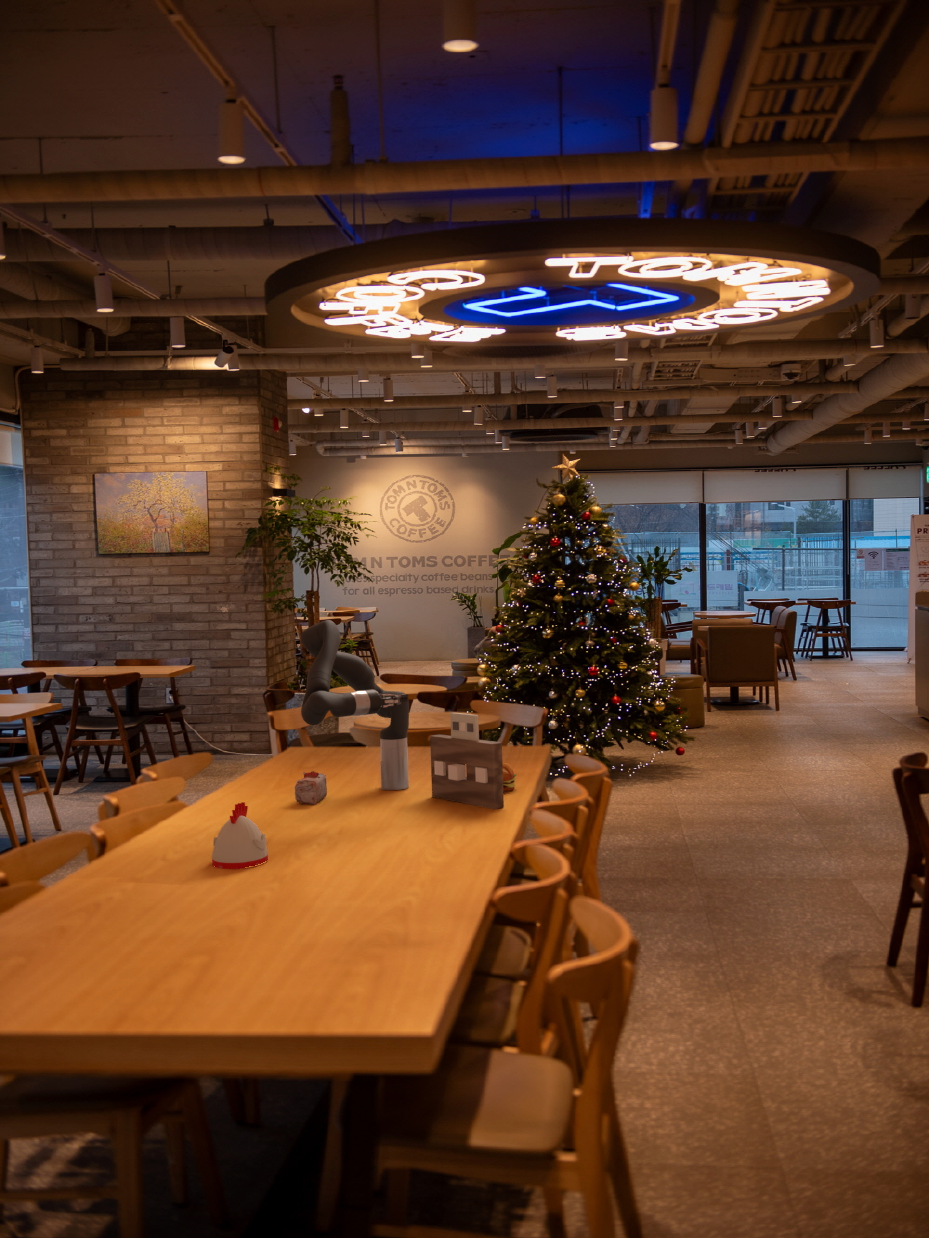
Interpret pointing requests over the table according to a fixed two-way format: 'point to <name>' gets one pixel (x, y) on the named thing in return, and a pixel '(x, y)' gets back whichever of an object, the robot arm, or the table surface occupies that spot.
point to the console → (468, 771)
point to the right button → (481, 774)
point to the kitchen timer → (239, 842)
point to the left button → (440, 767)
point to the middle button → (457, 772)
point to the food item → (311, 788)
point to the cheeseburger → (508, 777)
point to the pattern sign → (464, 726)
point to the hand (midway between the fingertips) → (406, 697)
